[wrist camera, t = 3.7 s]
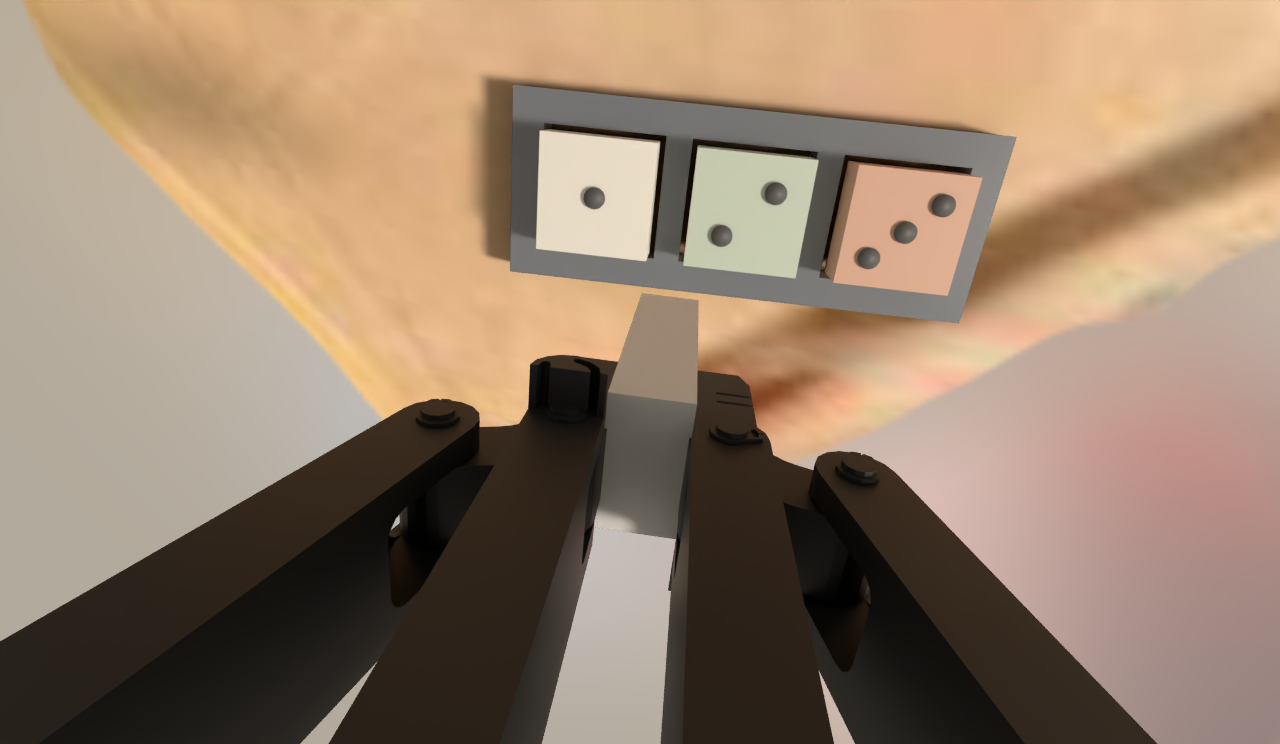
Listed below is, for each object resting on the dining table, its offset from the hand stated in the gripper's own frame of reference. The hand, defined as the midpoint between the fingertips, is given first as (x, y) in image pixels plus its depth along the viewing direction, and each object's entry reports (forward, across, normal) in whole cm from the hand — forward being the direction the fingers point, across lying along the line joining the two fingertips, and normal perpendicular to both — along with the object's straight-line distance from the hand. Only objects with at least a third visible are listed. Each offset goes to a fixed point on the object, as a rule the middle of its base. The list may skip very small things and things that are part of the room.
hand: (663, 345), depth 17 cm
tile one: (+20, -5, +1) cm, 21 cm away
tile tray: (+22, +3, +2) cm, 22 cm away
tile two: (+20, +3, +1) cm, 20 cm away
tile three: (+20, +11, +2) cm, 23 cm away
